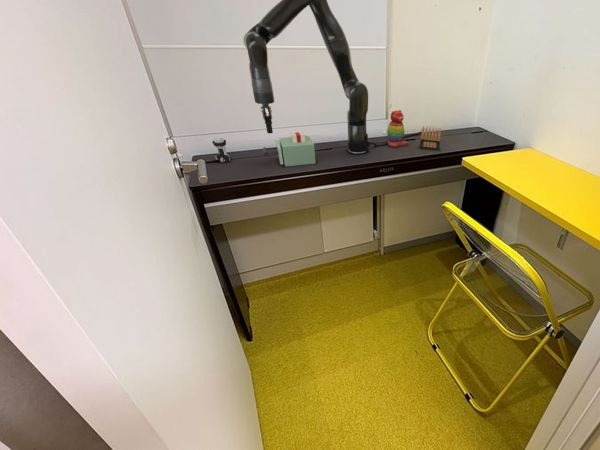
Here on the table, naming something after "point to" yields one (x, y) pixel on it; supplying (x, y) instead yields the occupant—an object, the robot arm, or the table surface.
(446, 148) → the table surface
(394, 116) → the stacking bear
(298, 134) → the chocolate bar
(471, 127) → the table surface
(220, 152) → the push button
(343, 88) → the robot arm
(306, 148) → the cabinet
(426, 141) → the ammunition clip
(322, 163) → the table surface
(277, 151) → the drawer
